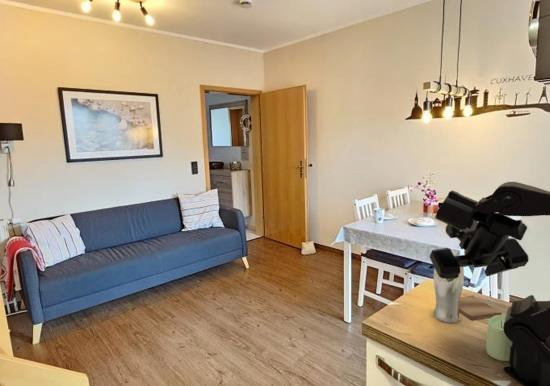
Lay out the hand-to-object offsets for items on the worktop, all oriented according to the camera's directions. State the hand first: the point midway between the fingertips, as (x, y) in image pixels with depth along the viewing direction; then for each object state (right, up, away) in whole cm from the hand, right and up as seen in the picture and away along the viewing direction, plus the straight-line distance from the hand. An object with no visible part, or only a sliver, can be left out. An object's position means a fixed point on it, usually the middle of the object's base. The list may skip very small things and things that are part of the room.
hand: (466, 277), depth 81 cm
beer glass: (0, -13, +10) cm, 16 cm away
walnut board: (+9, -12, +13) cm, 20 cm away
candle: (+4, -15, -6) cm, 17 cm away
